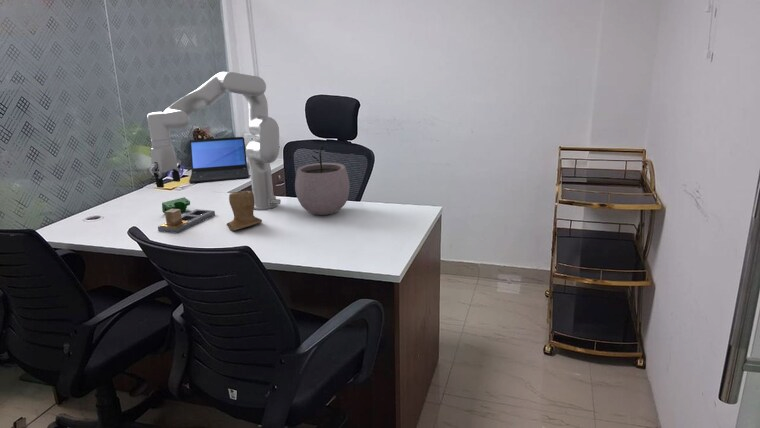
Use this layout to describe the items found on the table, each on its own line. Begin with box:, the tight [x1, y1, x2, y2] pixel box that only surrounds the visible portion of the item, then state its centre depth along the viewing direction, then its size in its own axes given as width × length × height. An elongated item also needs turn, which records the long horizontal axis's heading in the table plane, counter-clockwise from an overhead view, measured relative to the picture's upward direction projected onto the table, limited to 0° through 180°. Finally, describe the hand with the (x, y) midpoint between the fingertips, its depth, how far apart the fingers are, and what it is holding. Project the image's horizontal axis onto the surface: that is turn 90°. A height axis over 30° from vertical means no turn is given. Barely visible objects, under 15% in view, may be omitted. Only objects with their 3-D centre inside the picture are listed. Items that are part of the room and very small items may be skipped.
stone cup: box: [226, 190, 263, 232], centre depth 226 cm, size 15×12×15 cm
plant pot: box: [294, 146, 351, 216], centre depth 237 cm, size 24×24×30 cm
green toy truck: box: [161, 197, 191, 214], centre depth 250 cm, size 12×6×9 cm, turn 133°
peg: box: [164, 209, 182, 226], centre depth 227 cm, size 4×4×8 cm
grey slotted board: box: [157, 208, 216, 234], centre depth 235 cm, size 10×25×2 cm, turn 160°
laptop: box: [188, 136, 250, 184], centre depth 322 cm, size 33×38×19 cm
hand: (168, 184), depth 223 cm, fingers open, 9 cm apart
